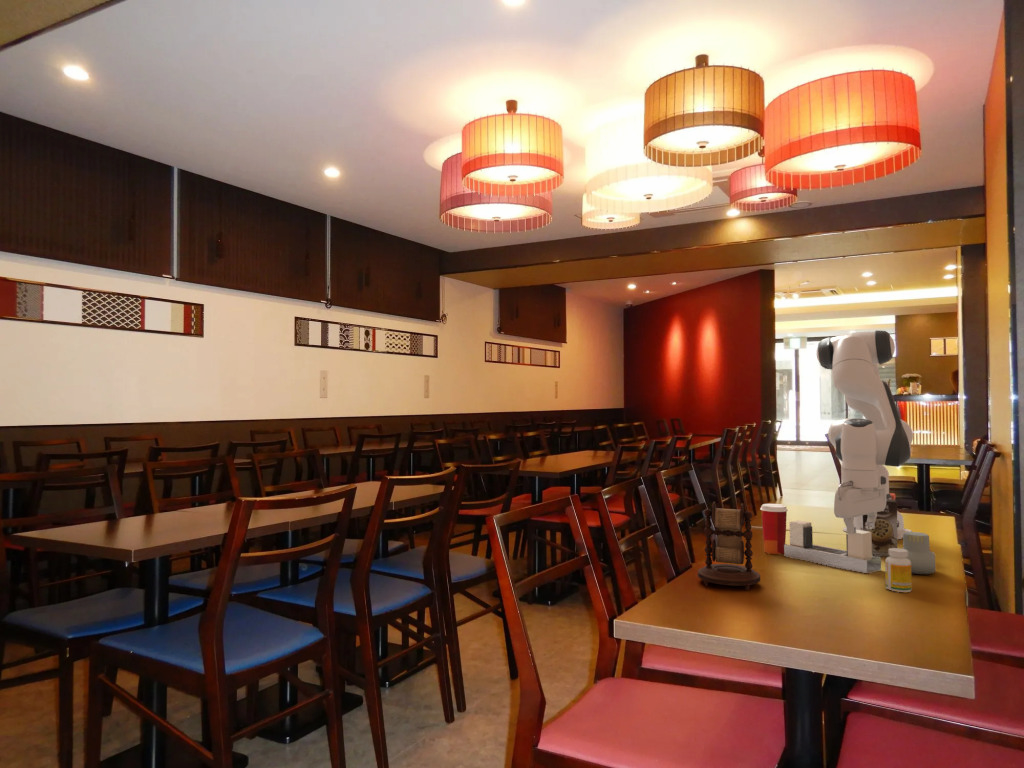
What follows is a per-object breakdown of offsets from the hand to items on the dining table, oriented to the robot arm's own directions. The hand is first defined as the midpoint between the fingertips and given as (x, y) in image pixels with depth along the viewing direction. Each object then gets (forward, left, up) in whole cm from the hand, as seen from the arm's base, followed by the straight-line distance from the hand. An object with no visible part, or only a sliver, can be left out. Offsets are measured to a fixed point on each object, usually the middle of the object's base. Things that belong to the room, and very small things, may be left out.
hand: (860, 531), depth 180 cm
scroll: (+41, -11, -10) cm, 43 cm away
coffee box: (-21, -6, -10) cm, 25 cm away
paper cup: (+2, -25, -10) cm, 27 cm away
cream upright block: (+1, 0, -9) cm, 9 cm away
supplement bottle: (+13, +16, -10) cm, 23 cm away
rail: (+1, -8, -10) cm, 13 cm away
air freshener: (-9, +10, -10) cm, 17 cm away
